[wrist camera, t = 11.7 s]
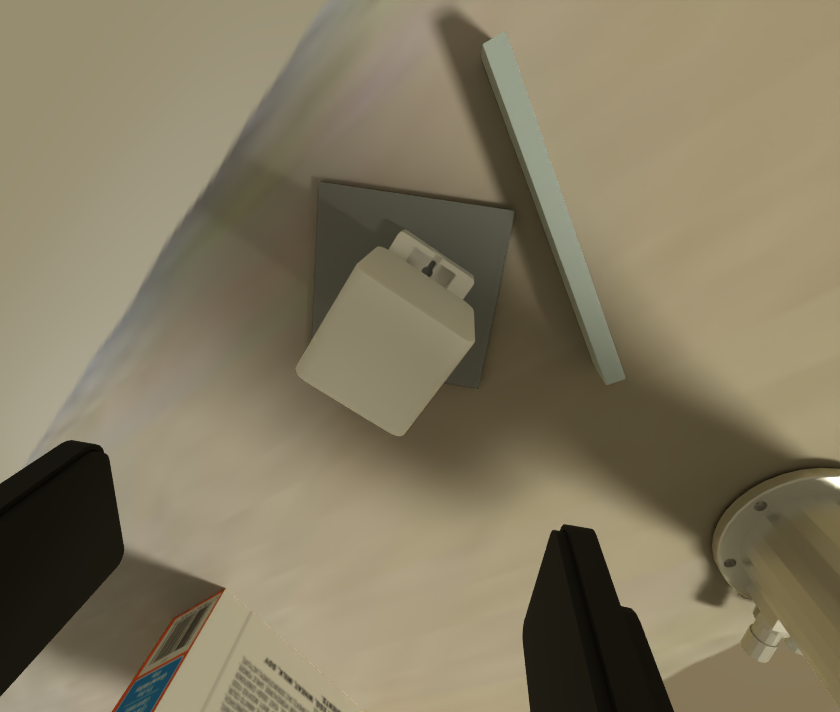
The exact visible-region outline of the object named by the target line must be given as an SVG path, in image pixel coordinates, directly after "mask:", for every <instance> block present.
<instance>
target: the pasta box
mask: <svg viewBox="0 0 840 712" xmlns="http://www.w3.org/2000/svg"><path fill="white" fill-rule="evenodd" d="M112 712H365V711H364V710H363V709H362V708H361V707H360V706H359V705H358V704H356V703H355V702H354V701H353V700H352V699H351V698H350V697H348V696H347V695H346V694H345V693H344V692H343V691H342V690H341V689H339V688H338V687H337V686H336V685H335V684H334V683H333V682H331V681H330V680H329V679H328V678H327V677H326V676H325V675H324V674H322V673H321V672H320V671H319V670H318V669H317V668H316V667H314V666H313V665H312V664H311V663H310V662H309V661H308V660H307V659H305V658H304V657H303V656H302V655H301V654H300V653H299V652H297V651H296V650H295V649H294V648H293V647H292V646H291V645H289V644H288V643H287V642H286V641H285V640H284V639H283V638H282V637H280V636H279V635H278V634H277V633H276V632H275V631H274V630H272V629H271V628H270V627H269V626H268V625H267V624H266V623H265V622H263V621H262V620H261V619H260V618H259V617H258V616H257V615H255V614H254V613H253V612H252V611H251V610H250V609H249V608H248V607H246V606H245V605H244V604H243V603H242V602H241V601H240V600H238V599H237V598H236V597H235V596H234V595H233V594H232V593H231V592H229V591H228V590H227V589H226V588H225V589H224V590H222V591H220V592H218V593H217V594H215V595H213V596H212V597H210V598H208V599H207V600H205V601H203V602H201V603H200V604H198V605H196V606H195V607H193V608H191V609H190V610H188V611H186V612H184V613H183V614H181V615H179V616H178V617H176V618H174V619H173V620H172V621H171V623H170V624H169V626H168V627H167V629H166V630H165V632H164V633H163V635H162V636H161V638H160V639H159V641H158V642H157V644H156V645H155V647H154V648H153V650H152V651H151V653H150V654H149V656H148V658H147V659H146V661H145V662H144V664H143V665H142V667H141V668H140V670H139V671H138V673H137V674H136V676H135V677H134V679H133V680H132V682H131V683H130V685H129V686H128V688H127V689H126V691H125V692H124V694H123V695H122V697H121V698H120V700H119V702H118V703H117V705H116V706H115V708H114V709H113V711H112Z"/></svg>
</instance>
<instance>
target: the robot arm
mask: <svg viewBox="0 0 840 712" xmlns="http://www.w3.org/2000/svg"><path fill="white" fill-rule="evenodd" d="M712 551H713V557H714V561H715V563H716V565H717V567H718V569H719V571H720V572H721V574H722V575H723V577H724V578H725V580H726V581H727V583H728V584H729V585H730V586H732V587H733V588H734V589H735V590H736V591H737V592H739V593H740V594H742V595H743V596H745V597H747V598H749V599H751V600H753V601H754V603H755V604H756V606H755V608H754V611H753V615H754V617H755V619H756V620H755V622H754V624H752V625H750V626H749V628H748V630H747V631H746V633H745V635H744V636H743V638H742V640H741V646H742V648H743V650H744V651H745V652H746V653H747V654H748V655H749V656H750V657H751V658H753V659H755V660H756V661H759V662H762V663H764V662H768V661H769V659H770V658H771V656H772V655H773V653H774V651H775V650H776V649H777V647H778V645H779V640H780V639H781V637H783V638H784V643H785V645H786V646H787V647H788V648H789V649H790V650H792V651H793V652H795V653H797V654H801V655H802V654H803V656H804V657H805V658H806V660H807V661H808V663H809V664H810V666H811V667H812V669H813V670H814V671H815V673H816V674H817V676H818V677H819V679H820V680H821V682H822V683H823V684H824V686H825V687H826V689H827V690H828V692H829V693H830V695H831V696H832V697H833V699H834V700H835V702H836V703H837V705H838V706H839V708H840V469H836V468H813V469H803V470H798V471H794V472H789V473H785V474H782V475H779V476H777V477H774V478H771V479H769V480H766V481H764V482H762V483H760V484H759V485H757V486H755V487H753V488H751V489H749V490H748V491H747V492H746V493H744V494H743V495H742V496H740V497H739V498H738V499H736V500H735V501H734V502H733V504H732V505H731V506H730V507H729V508H728V509H727V510H726V511H725V512H724V514H723V516H722V517H721V519H720V520H719V522H718V524H717V526H716V529H715V532H714V534H713V541H712ZM123 554H124V544H123V538H122V532H121V526H120V520H119V514H118V508H117V502H116V496H115V490H114V484H113V478H112V472H111V466H110V461H109V457H108V455H107V454H105V453H104V451H103V448H102V447H101V446H100V445H96V444H91V443H85V442H79V441H74V440H70V441H65V442H63V443H61V444H60V445H58V446H57V447H55V448H54V449H52V450H51V451H49V452H48V453H46V454H45V455H43V456H42V457H40V458H39V459H37V460H36V461H34V462H33V463H31V464H30V465H28V466H26V467H25V468H23V469H22V470H20V471H19V472H17V473H16V474H14V475H13V476H11V477H10V478H8V479H7V480H5V481H4V482H2V483H1V484H0V696H1V695H2V694H3V693H4V692H5V691H6V690H7V689H8V688H9V686H10V685H11V684H12V683H13V682H14V681H15V680H16V679H17V678H18V676H19V675H20V674H21V673H22V672H23V671H24V670H25V669H26V668H27V666H28V665H29V664H30V663H31V662H32V661H33V660H34V659H35V658H36V656H37V655H38V654H39V653H40V652H41V651H42V650H43V649H44V648H45V646H46V645H47V644H48V643H49V642H50V641H51V640H52V639H53V638H54V636H55V635H56V634H57V633H58V632H59V631H60V630H61V629H62V628H63V626H64V625H65V624H66V623H67V622H68V621H69V620H70V619H71V618H72V616H73V615H74V614H75V613H76V612H77V611H78V610H79V609H80V608H81V606H82V605H83V604H84V603H85V602H86V601H87V600H88V599H89V598H90V596H91V595H92V594H93V593H94V592H95V591H96V590H97V589H98V588H99V586H100V585H101V584H102V583H103V582H104V581H105V580H106V579H107V578H108V576H109V575H110V574H111V573H112V572H113V571H114V570H115V569H116V567H117V566H118V565H119V563H120V561H121V560H122V557H123ZM523 648H524V657H525V666H526V675H527V685H528V694H529V703H530V712H674V710H673V708H672V705H671V702H670V700H669V697H668V694H667V692H666V689H665V687H664V684H663V681H662V678H661V676H660V673H659V670H658V668H657V665H656V662H655V660H654V657H653V654H652V652H651V649H650V646H649V644H648V641H647V638H646V636H645V633H644V630H643V628H642V625H641V623H640V620H639V618H638V616H637V614H636V613H635V612H634V611H633V610H632V609H631V608H628V607H623V606H621V605H620V602H619V600H618V597H617V594H616V591H615V588H614V585H613V582H612V579H611V576H610V573H609V570H608V568H607V565H606V562H605V559H604V556H603V553H602V550H601V547H600V544H599V541H598V539H597V536H596V533H595V531H594V530H593V529H590V528H584V527H578V526H572V525H566V524H564V525H563V526H562V527H561V529H560V531H556V530H552V532H551V534H550V537H549V540H548V544H547V547H546V550H545V554H544V557H543V560H542V564H541V567H540V570H539V574H538V577H537V580H536V583H535V587H534V590H533V593H532V597H531V600H530V603H529V607H528V610H527V613H526V617H525V620H524V625H523Z"/></svg>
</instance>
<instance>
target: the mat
mask: <svg viewBox="0 0 840 712" xmlns="http://www.w3.org/2000/svg"><path fill="white" fill-rule="evenodd" d="M514 214H515V210H510V209H503V208H496V207H490V206H483V205H476V204H469V203H463V202H456V201H449V200H443V199H436V198H429V197H422V196H416V195H409V194H402V193H395V192H389V191H382V190H375V189H368V188H362V187H355V186H348V185H341V184H335V183H328V182H319V190H318V212H317V234H316V257H315V279H314V302H313V324H312V339H313V337H314V335H315V334H316V332H317V330H318V329H319V327H320V325H321V323H322V322H323V320H324V318H325V317H326V315H327V313H328V312H329V310H330V308H331V307H332V305H333V303H334V302H335V300H336V298H337V296H338V295H339V293H340V291H341V290H342V288H343V286H344V285H345V283H346V281H347V280H348V278H349V276H350V275H351V273H352V271H353V269H354V268H355V266H356V264H357V263H358V262H360V261H361V260H362V259H363V258H364V257H366V256H367V255H368V254H369V253H370V252H371V251H373V250H374V249H375V248H376V247H378V246H380V247H383V248H386V249H387V250H389V248H390V246H391V245H392V243H393V242H394V240H395V238H396V237H397V235H398V234H399V233H400V232H401V231H402V230H404V229H405V230H408V231H409V232H411V233H412V234H414V235H415V236H417V237H418V238H420V239H421V240H423V241H424V242H425V243H427V244H428V245H430V246H431V247H433V248H434V249H436V250H437V251H439V252H440V253H442V254H443V255H445V256H446V257H447V258H449V259H450V260H452V261H453V262H455V263H456V264H458V265H459V266H461V267H462V268H464V269H465V270H467V271H468V272H469V273H471V274H472V275H473V276H474V285H473V286H472V288H471V289H470V290H469V292H468V293H467V295H466V296H465V297H464V299H463V300H464V301H465V302H466V303H468V304H469V305H470V306H471V307H472V308H473V310H474V327H475V342H474V344H473V345H472V347H471V348H470V349H469V351H468V352H467V353H466V354H465V356H464V357H463V358H462V360H461V361H460V362H459V364H458V365H457V366H456V368H455V369H454V370H453V371H452V373H451V374H450V375H449V377H448V378H447V379H446V381H445V382H444V383H446V384H453V385H459V386H465V387H471V388H477V389H479V384H480V379H481V374H482V370H483V365H484V360H485V355H486V350H487V345H488V340H489V336H490V331H491V326H492V321H493V316H494V311H495V307H496V302H497V297H498V292H499V287H500V282H501V277H502V273H503V268H504V263H505V258H506V253H507V248H508V243H509V239H510V234H511V229H512V224H513V219H514ZM435 265H436V262H435V261H431V262H430V263H429V265H428V266H427V267H424V268H423V269H422V273H424V274H425V275H427V276H428V277H430V276H432V274H433V271H432V269H433V268H434V266H435Z"/></svg>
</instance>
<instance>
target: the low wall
mask: <svg viewBox="0 0 840 712" xmlns="http://www.w3.org/2000/svg"><path fill="white" fill-rule="evenodd" d="M481 59H482V62H483V65H484V67H485V70H486V73H487V76H488V78H489V81H490V84H491V87H492V89H493V92H494V95H495V97H496V100H497V103H498V106H499V108H500V111H501V114H502V117H503V119H504V122H505V125H506V127H507V130H508V133H509V136H510V138H511V141H512V144H513V147H514V149H515V152H516V155H517V157H518V160H519V163H520V166H521V168H522V171H523V174H524V177H525V179H526V182H527V185H528V187H529V190H530V193H531V196H532V198H533V201H534V204H535V207H536V209H537V212H538V215H539V217H540V220H541V223H542V226H543V228H544V231H545V234H546V237H547V239H548V242H549V245H550V247H551V250H552V253H553V256H554V258H555V261H556V264H557V267H558V269H559V272H560V275H561V277H562V280H563V283H564V286H565V288H566V291H567V294H568V297H569V299H570V302H571V305H572V307H573V310H574V313H575V316H576V318H577V321H578V324H579V326H580V329H581V332H582V335H583V337H584V340H585V343H586V346H587V348H588V351H589V354H590V356H591V359H592V362H593V365H594V367H595V369H596V370H597V372H598V373H599V375H600V376H601V378H602V379H603V381H604V383H605V384H606V386H607V385H610V384H613V383H616V382H618V381H621V380H624V379H626V377H625V375H624V372H623V369H622V366H621V363H620V360H619V357H618V354H617V351H616V348H615V346H614V343H613V340H612V337H611V334H610V331H609V328H608V325H607V322H606V320H605V317H604V314H603V311H602V308H601V305H600V302H599V299H598V296H597V293H596V291H595V288H594V285H593V282H592V279H591V276H590V273H589V270H588V267H587V264H586V262H585V259H584V256H583V253H582V250H581V247H580V244H579V241H578V238H577V235H576V233H575V230H574V227H573V224H572V221H571V218H570V215H569V212H568V209H567V207H566V204H565V201H564V198H563V195H562V192H561V189H560V186H559V183H558V180H557V178H556V175H555V172H554V169H553V166H552V163H551V160H550V157H549V154H548V151H547V149H546V146H545V143H544V140H543V137H542V134H541V131H540V128H539V125H538V123H537V120H536V117H535V114H534V111H533V108H532V105H531V102H530V99H529V96H528V94H527V91H526V88H525V85H524V82H523V79H522V76H521V73H520V70H519V67H518V65H517V62H516V59H515V56H514V53H513V50H512V47H511V44H510V41H509V39H508V36H507V33H506V31H505V32H503V33H501V34H499V35H498V36H496V37H494V38H492V39H491V40H489V41H487V42H485V43H484V44H483V45H482V54H481Z"/></svg>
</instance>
